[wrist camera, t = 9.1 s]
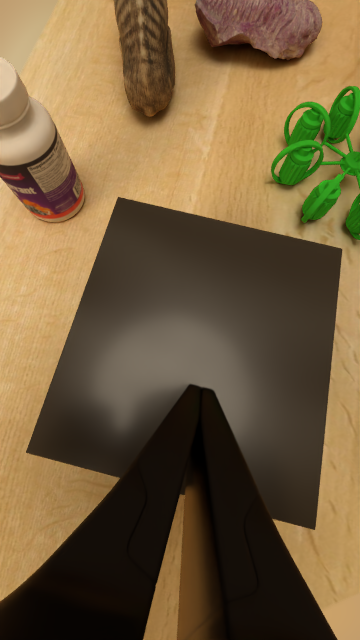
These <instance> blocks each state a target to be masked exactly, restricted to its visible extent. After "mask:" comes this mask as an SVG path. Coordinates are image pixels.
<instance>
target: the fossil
mask: <svg viewBox="0 0 360 640" xmlns="http://www.w3.org/2000/svg"><path fill="white" fill-rule="evenodd" d="M195 7H196V13H197V17H198V19H199V22H200V24H201V26H202V28H203V29H204V33H205V35H206V36H207V39H208V41H209V43H210V45H211V46H212V47H217V46H222V45H226V44H238V45H240V44H244V43H250V44H251V45H252V46H253V48H256V49H260V50H263V51H264V52H266V53H268V55H269V56H270V57H273V58H274V59H276V58H277V57H278V58H281V59H285V58H286V59H287V60H288V61H289V60H290V59H291V58H294V57H298V58H299V57H300V56H301V55H302V54H303V53H304V50H305V48H306V47H307V46H308V44H310V43H312V42H313V41H314V40H315V39H317V36H318V34H319V32H320V30H321V27H322V17H321V14H320V12H319V9H318V7H317V6H316V5H315V4H314V3H313V2H311V1H309V0H304V1H303V0H197V1H196V3H195Z"/></svg>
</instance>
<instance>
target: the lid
mask: <svg viewBox="0 0 360 640" xmlns="http://www.w3.org/2000/svg"><path fill="white" fill-rule="evenodd" d="M341 257H342V249H341V248H336V247H332V246H328V245H324V244H319V243H315V242H311V241H306V240H302V239H298V238H293V237H289V236H285V235H280V234H276V233H272V232H267V231H263V230H259V229H254V228H250V227H246V226H241V225H237V224H233V223H228V222H224V221H220V220H215V219H211V218H207V217H202V216H198V215H194V214H189V213H185V212H181V211H176V210H172V209H168V208H163V207H159V206H155V205H150V204H146V203H142V202H138V201H133V200H129V199H125V198H120V197H118V199H117V201H116V204H115V207H114V210H113V213H112V215H111V218H110V221H109V224H108V226H107V229H106V232H105V235H104V237H103V240H102V243H101V246H100V249H99V251H98V254H97V257H96V260H95V262H94V265H93V268H92V271H91V274H90V276H89V279H88V282H87V285H86V287H85V290H84V293H83V296H82V298H81V301H80V304H79V307H78V310H77V312H76V315H75V318H74V321H73V323H72V326H71V329H70V332H69V334H68V337H67V340H66V343H65V346H64V348H63V351H62V354H61V357H60V359H59V362H58V365H57V368H56V371H55V373H54V376H53V379H52V382H51V384H50V387H49V390H48V393H47V395H46V398H45V401H44V404H43V407H42V409H41V412H40V415H39V418H38V420H37V423H36V426H35V429H34V431H33V434H32V437H31V440H30V443H29V445H28V448H27V451H26V453H29V454H33V455H36V456H40V457H44V458H48V459H51V460H55V461H59V462H63V463H66V464H70V465H74V466H78V467H81V468H85V469H89V470H93V471H96V472H100V473H104V474H107V475H111V476H115V477H119V478H121V477H122V475H123V474H124V473H125V472H126V470H127V469H128V467H129V466H130V465H131V463H132V462H133V461H135V458H136V457H137V455H138V454H139V453H140V451H141V450H142V448H143V447H144V446H145V444H146V443H147V442H148V440H149V439H150V437H151V436H152V435H153V433H154V432H155V430H156V429H157V428H158V426H159V425H160V424H161V422H162V421H163V419H164V418H165V417H166V415H167V414H168V413H169V411H170V410H171V408H172V407H173V406H174V404H175V403H176V402H177V400H178V399H179V397H180V396H181V395H182V393H183V392H184V391H185V389H186V388H187V386H188V385H189V384H194V385H198V386H200V387H201V388H202V387H206V388H210V389H213V390H214V391H215V394H216V396H217V398H218V400H219V403H220V405H221V407H222V409H223V411H224V414H225V416H226V418H227V420H228V423H229V425H230V427H231V429H232V431H233V434H234V436H235V438H236V440H237V443H238V445H239V447H240V449H241V451H242V454H243V456H244V458H245V460H246V463H247V465H248V467H249V469H250V471H251V474H252V476H253V478H254V480H255V482H256V485H257V487H258V489H259V494H261V496H262V498H263V500H264V502H265V505H266V507H267V509H268V511H269V513H270V515H271V517H272V519H276V520H279V521H283V522H287V523H291V524H294V525H298V526H302V527H306V528H309V529H313V530H315V527H316V517H317V506H318V496H319V485H320V475H321V465H322V454H323V444H324V434H325V423H326V413H327V403H328V392H329V382H330V371H331V361H332V351H333V340H334V330H335V320H336V309H337V299H338V288H339V278H340V268H341ZM185 482H186V472H185V476H184V480H183V484H182V487H181V491H180V494H182V495H185Z"/></svg>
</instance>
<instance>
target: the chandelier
mask: <svg viewBox="0 0 360 640" xmlns="http://www.w3.org/2000/svg"><path fill="white" fill-rule="evenodd" d="M349 90H352V91H353V93H351V94H350V95H349V96H344V95H345V94H346V93H347V92H348V91H349ZM343 96H344V97H343ZM303 107H310V108H312V109H310V110H307V111H305V112H304V113H303V115H302V117H301V118H300V119H299V120H298V122H297V124H296V126H295V128H294V130H293V132H292V134H291V136H290V135H289V122H290V119H291V117H292V115H293V113H294V112H295V111H296V110H298V109H300V108H303ZM359 111H360V90H359V88H358V87H356V86H349V87H346V88H344V89H343V90H342V91H341V92H340V93H339V95H338V96H337V98H336V99H335V101H334V103H333V105H332V107H331V110H330V113H329V115H328V113H327V111H326V110H325V108H324V107H323V106H321V105H320V104H318V103H315V102H305V103H302V104H300V105H298V106H297V107H296V108H295V109H294V110H293V111H292V112H291V113H290V114H289V116H288V117H287V120H286V122H285V127H284V135H285V139H286V142H287V144H288V147H287V148H285V149H284V150H283V151H281V152H280V153H279V154H278V155H277V157H276V158H275V159H274V161H273V163H272V167H271V172H272V177H273V179H274V180H275V181H276V182H278V183H281V184H287V185H294V184H296V183H298V182H299V181H301V180H303V179H305V178H307V177H308V176H310V175H311V174H313V173H314V172H315V171H316V170H317V169H318V167H319V166H320V165H340V167H341V169H342V170H343V171H344V173H343V174H342V175H341V174H338V175H337V177H336V178H335V179H332V180H325V181H322V182H321V183H320V184H319V185H318V186H317V187H315V188H314V189H313V191H312V192H311V193H310V195H309V196H308V197H307V199H306V200H305V202H304V204H303V205H302V211H303V214H304V216H303V217H302V219H301V220H302V221H303V222H304V223H306V222H307V221H308V219H311V220H317V219H320V218H321V217H323V216H324V215H325V214H326V213H327V212H328V211H329V210H330V209H331V207H332V206H333V205H334V204H335V203H336V201H337V199H338V197H339V196H340V194H341V189H340V184H339V183H340V182H341V181H342V180H343V178H344V176H345V175H346V174H349V175H353V176H355V175H356V177H357V181H358V185H359V188H360V175H359V174H360V153H359V152H353V149H352V145H351V141H350V138H349V134H350V132H351V130H352V129H353V127H354V125H355V123H356V120H357V118H358V115H359ZM323 119H324V122H325V124H324V128H323V130H324V133H325V137H324V140H323V142H322V144H321V145H320V144H319V143H318V142H316V141H314V139H315V138H316V136H317V134H318V132H319V131H320V128H321V124H322V122H323ZM339 137H340V138H339ZM336 138H339V139H338V140H336V141H335V140H334V139H336ZM345 139H347V143H348V147H349V151H350V153H348V154H347V155H346V154H344V153H343V152H341V151H340V150H338V149H337V148H335V147H334V146H332V145H331V144H329V143H328V142H326V141H327V140H328V141H329V142H330V143H340V142H342V141H343V140H345ZM323 145H326V146H327V147H329V148H330V149H332V150H333V151H335V152H336V153H338V154H339V155H341V156H342V157H343V158H342V159H341V161H334V162H322V161H323V157H324V154H323V149H322V146H323ZM312 147H314V148H316V149H312ZM318 150H319V151H320V156H319V159H318V160H317V162H316V163H315V165H314V166H313V167H312V168H311V169H309V170H308V171H307V169H308V168H309V166H310V164H311V161H312V158H313V156H314V153H315V152H316V151H318ZM287 154H288V155H287ZM285 155H287V157H286V159H285V161H284V163H283V165H282V167H281V169H280V172H279V177H278V176H276V175H275V173H274V170H275V167H276V165H277V163H278V162H279V161H280V160H281V159H282V158H283V157H284V156H285ZM306 171H307V172H306ZM289 174H290V175H289ZM359 203H360V194H359V195H358V196H357V197H356V199H355V200H354V202H353V204H352V206H351V209H350V212H349V215H348V217H347V219H346V226H347V228H348V229H349V231H350V233H351V235H352V236H353V237H354V238H355V239H358V240H360V235H359V234H360V204H359ZM357 223H358V224H357Z"/></svg>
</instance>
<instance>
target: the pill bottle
mask: <svg viewBox="0 0 360 640" xmlns="http://www.w3.org/2000/svg"><path fill="white" fill-rule="evenodd" d="M0 177H1V178H2V180H3V181H4V182H5V183H6V184H7V185H8V187H9V188H10V189H11V190H12V191H13V193H14V194H15V195H16V196H17V197H18V199H19V200H20V201H21V202H22V203H23V204H24V206H25V207H26V208H27V209H28V210H29V211H30V212H31V213H32V214H33V215H34V216H35V217H37V218H39V219H41V220H44V221H47V222H60V221H64V220H67V219H69V218H71V217H72V216H74V215H75V214H76V213H77V212H78V211H79V210H80V208H81V207H82V205H83V202H84V197H85V194H84V189H83V186H82V183H81V181H80V179H79V176H78V174H77V172H76V170H75V168H74V165H73V163H72V161H71V159H70V157H69V155H68V152H67V150H66V148H65V146H64V144H63V141H62V139H61V137H60V135H59V133H58V131H57V128H56V126H55V124H54V122H53V120H52V118H51V116H50V114H49V113H48V111H47V110H46V108H45V107H44V106H43V105H42V104H41V103H39V102H38V101H37V100H35V99H34V98H32V97H30V96H29V95H28V93H27V89H26V87H25V86H24V84H23V83H22V81H21V79H20V77H19V75H18V74H17V72H16V70H15V68H14V67H13V65H11V64H10V62H8V61H7V60H5V59H4V58H1V57H0Z"/></svg>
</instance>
